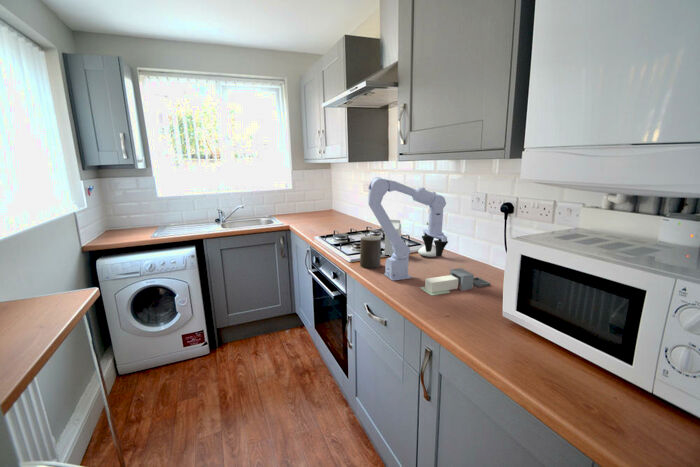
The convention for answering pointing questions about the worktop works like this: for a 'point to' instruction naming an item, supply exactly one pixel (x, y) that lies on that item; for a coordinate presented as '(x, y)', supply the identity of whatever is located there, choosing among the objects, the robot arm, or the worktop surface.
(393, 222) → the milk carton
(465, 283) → the tunnel
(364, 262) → the pillar candle
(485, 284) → the tray
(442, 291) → the pad
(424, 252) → the flower in vase
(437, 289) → the long ivory beam
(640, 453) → the worktop surface
